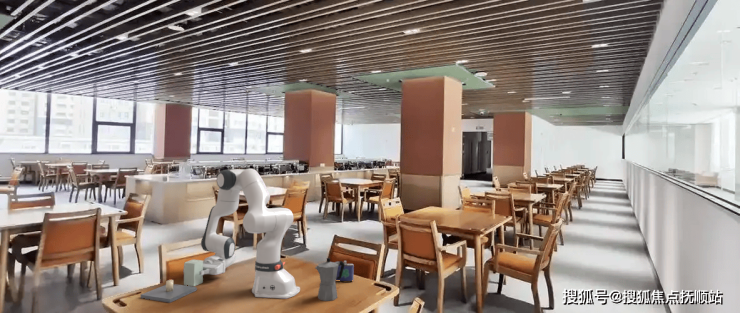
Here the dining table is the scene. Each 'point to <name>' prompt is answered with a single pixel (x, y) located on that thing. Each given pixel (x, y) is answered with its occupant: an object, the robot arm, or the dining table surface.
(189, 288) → the board
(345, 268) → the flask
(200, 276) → the cover
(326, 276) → the coffeepot
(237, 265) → the dining table surface
